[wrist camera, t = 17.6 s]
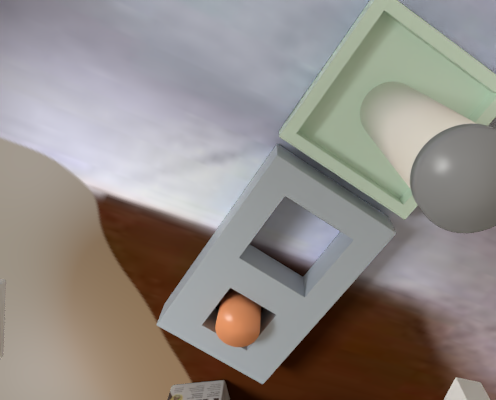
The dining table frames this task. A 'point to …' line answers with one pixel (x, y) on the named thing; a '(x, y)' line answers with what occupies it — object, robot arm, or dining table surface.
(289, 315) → the housing
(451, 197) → the cartridge
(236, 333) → the orange egg
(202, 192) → the dining table surface
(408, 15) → the tray
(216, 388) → the coffee box
